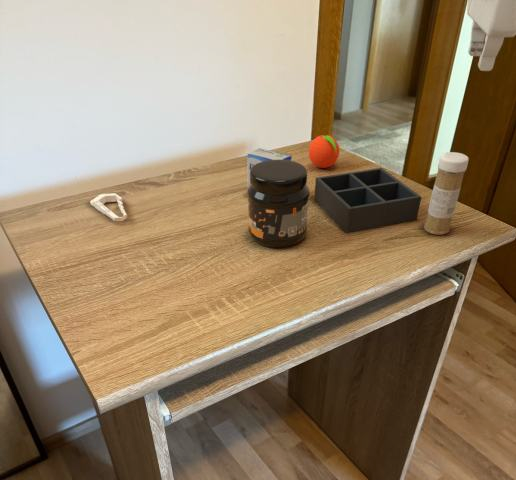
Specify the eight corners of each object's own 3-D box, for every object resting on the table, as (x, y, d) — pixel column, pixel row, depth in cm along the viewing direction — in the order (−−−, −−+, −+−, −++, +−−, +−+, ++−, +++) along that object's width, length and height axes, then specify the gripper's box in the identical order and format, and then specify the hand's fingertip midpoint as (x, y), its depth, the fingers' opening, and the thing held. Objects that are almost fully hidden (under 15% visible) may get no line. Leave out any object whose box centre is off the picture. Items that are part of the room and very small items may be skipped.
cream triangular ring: (141, 219, 93) (139, 210, 92) (117, 227, 91) (115, 218, 90) (111, 196, 101) (110, 188, 100) (89, 203, 99) (87, 195, 98)
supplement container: (242, 225, 91) (240, 161, 83) (296, 218, 93) (299, 155, 85) (256, 253, 83) (255, 186, 75) (314, 245, 85) (319, 178, 77)
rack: (378, 189, 102) (381, 167, 99) (416, 219, 92) (421, 196, 89) (314, 199, 99) (315, 177, 96) (346, 232, 89) (349, 209, 85)
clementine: (346, 170, 110) (350, 138, 105) (321, 176, 108) (324, 143, 103) (326, 159, 115) (328, 127, 111) (301, 165, 113) (303, 133, 108)
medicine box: (247, 195, 101) (245, 153, 95) (259, 188, 104) (258, 146, 98) (278, 204, 97) (279, 161, 92) (290, 196, 100) (292, 154, 94)
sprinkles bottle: (439, 222, 91) (457, 149, 82) (454, 233, 88) (475, 158, 79) (418, 226, 90) (434, 153, 81) (432, 238, 87) (451, 162, 78)
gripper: (558, -56, 55) (516, 80, 64) (518, -63, 70) (489, 49, 79) (499, -56, 55) (466, 79, 65) (472, -62, 71) (449, 48, 80)
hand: (478, 62), depth 72 cm, fingers open, 8 cm apart
